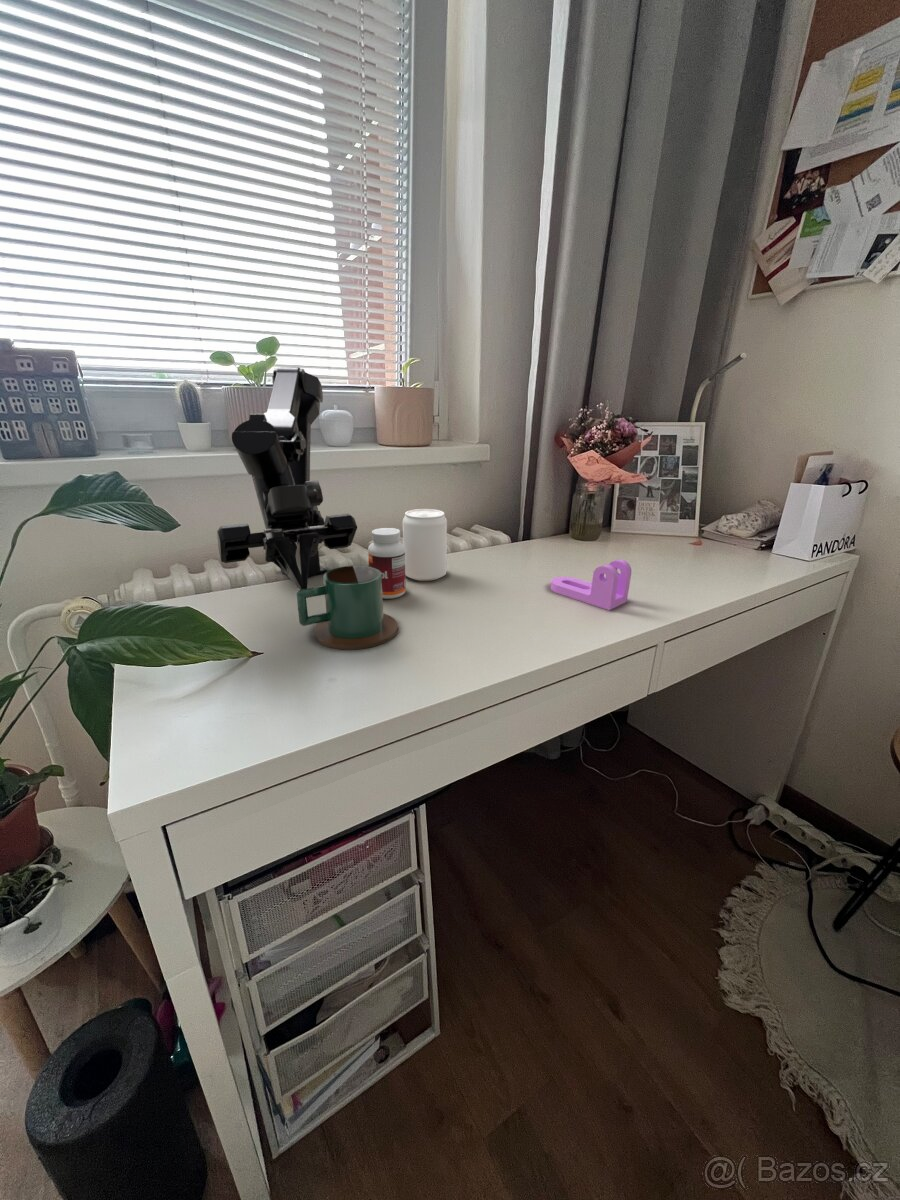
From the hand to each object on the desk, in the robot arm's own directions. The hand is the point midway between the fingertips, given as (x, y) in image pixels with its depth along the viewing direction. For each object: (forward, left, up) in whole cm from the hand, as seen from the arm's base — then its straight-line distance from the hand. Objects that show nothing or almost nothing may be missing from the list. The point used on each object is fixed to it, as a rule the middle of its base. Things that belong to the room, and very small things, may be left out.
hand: (304, 589), depth 70 cm
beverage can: (-6, +29, -7) cm, 31 cm away
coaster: (+4, +5, -7) cm, 10 cm away
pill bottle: (-4, +18, -7) cm, 20 cm away
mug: (+3, +3, -6) cm, 8 cm away
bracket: (+21, +42, -7) cm, 47 cm away
